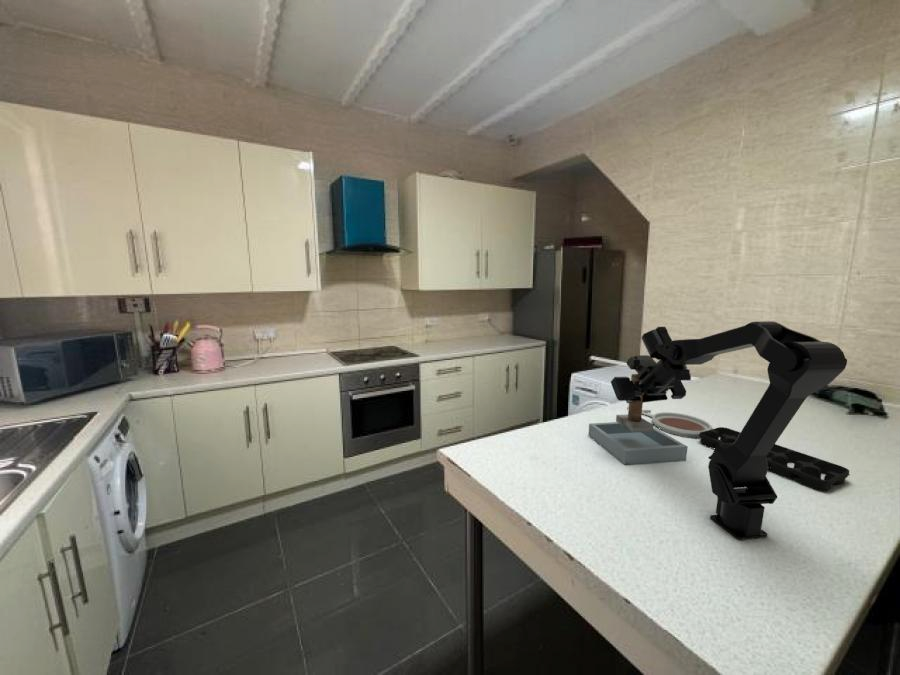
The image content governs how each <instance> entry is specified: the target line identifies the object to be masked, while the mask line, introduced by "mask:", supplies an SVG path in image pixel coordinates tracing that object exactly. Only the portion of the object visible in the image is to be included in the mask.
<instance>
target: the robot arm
mask: <svg viewBox="0 0 900 675" xmlns="http://www.w3.org/2000/svg"><path fill="white" fill-rule="evenodd" d="M641 341H642V342H643V345H644V346H645V349H646V351H647V353H648V354H649V355H646V354H645V355H642V354H641V355H639V354H638V355H633V356H630V357H629V358H628V359H627V362H626V366H627V367H628V368H629V369H630V370H634V371H635V372H636V374H637V375H636V377H637V379H639V380H640V381H634V382H633V381H631V377H628V376H614V377H613V378H612V380H610V383H611V387H612V389H613V392H614V394H615V398H616V399H617V401H620V402H621V401H622V402H623V401H625V402H626V404H629V403H633V402H637V401H641V398H640V396H641V395H642V394H643V393H644V394H643V403H650V402H660V401H667V400H668V395H667V393H668V391H669V390H670V392H671V395H670V398H671V399H672V400H682V399H683V398H685V397H686V396H687V389H686V388H685V386H684V384H683V382H682V381H691V380H692V375H691V371H690V369H688V366H689V365H691V366H693V365H697V366H698V365H704V364H705V363H708V362H710V361H712V360H713V359H714V358H715V357H717V356H719V355H723V354H728V353H731V352H735V351H739V350H744V349H750V348H753V347H754V348H755V350H756V352H757V353H758V356H759V357H761V358H762V359H764V360H765V361H767V362H768V365H767V370H766V371H767V375H768V380H769V384H768V386H767V388H766V390H765V392H764V393H763V395H762V397H761V398H760V400H759V402H758V403H757V405H756V406H755V408H754V410H753V411H752V413H751V414H750V416H749V418H748V419H747V421H746V423H745V425H744V426H743V428H742V430H741V431H740V432H741V433H740V434H739V436H738V438H737V439H736V441H735V442H734V443H725V444H717V446H716V447H715V449H713V452H712V453H711V455H709V456H708V460H709V462H708V465H707V467H708V473H709V474H708V476H709V481H710V487H711V491H712V492H711V493H713V495H715V496H716V497H717V499H716V500H717V502H716V509H715V513H716V514H710V516H709V519H711V520H712V522H715V523H716V525H718V526H719V527H721V528H722V529H724V530H725V531H726V532H727V533H729V534H730V535H732V536H733V537H734V538H736V539H737V540H740V541H741V540H749V539H757V538H766V537H768V532H766V531H765V530H763V529H762V526H763V521H764V514H765V506H764V505H767V504H768V505H772V504H774V503H775V501H776V500H777V499H778V495H777V493H776V491H775V489H774V488H773V486H772V484H771V482H770V480H769V479H768V477H767V474H768V472H769V467H768V463H767V459H766V456H767V455H768V453H769V452H770V450H771V449H772V447H773V446H774V444H776V443H777V442H778V440H779V439H780V437H781V436H782V434H783V432H784V431H785V430H786V428H787V426H789V424H790V422H791V421H792V420H793V418H794V417H795V415H796V414H797V412H798V410H799V409H800V407H802V405H803V403H804V402H805V400H807V398H809V396H811V395H812V394H814V393H816V392H818V391H819V390H821V389H823V388H825V387H827V386H828V385H830V384H831V383H832V382H833V381H834V380H835V379H836V378H837V377H839V376H840V375H841V373H842V372H844V370H845V369H846V367H847V365H848V359H847V358H846V356H845V352H844V351H843V350H842V349H841V348H840V347H839V346H838V345H837V344H835V343H832V342H830V341H821V340H820V339H817V338H816V337H815V336H814V337H813V336H811V335H807V334H805V333H802V332H800V331H797V330H793V329H791V328H788V327H786V326H785V325H783V324H781V323H779V322H776V321H751V322H749V323H747V324H745V325H743V326H738V327H735V328H732V329H728V330H726V331H721V332H718V333H715V334H712V335H711V334H710V335H709V336H706V337H705V336H704V337H701V338H688V339H687V338H686V339H674V340H672V337H671V336H670V334H669V332H668V329H667V327H666V326H657V327H656V328H655V329H651V330H649V331H647V332H645V333H643V334H642V336H641ZM654 359H656V360H658V361H655V360H654Z"/></svg>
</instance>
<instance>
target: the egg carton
mask: <svg viewBox="0 0 900 675" xmlns="http://www.w3.org/2000/svg"><path fill="white" fill-rule="evenodd" d="M740 433H741V431H738V430H734V429H732V428H729V427H728V428H727V427H721V426H720V427H716V428H713V429H711V430H708V431H704V432H700V434H699V437H700V438H699V439H700V443H701V444H702V445H703V446H705V445H706V447H707V446H708V448H709V447H711V448H710V449H713V448H715V447H716V446H717V444H725V443H734V442H735V441H736V439H737V438H738V436H739V434H740ZM766 459H767V463H768V468H769V472H771V473H772V474H775V475H777V476H779V477H781V478H782V477H783V478H785V479H789V480H798V483H799V484H800V485H802V486H805V487H807V488H810V489H811V490H815V491H819V492H823V493H825V492H826V493H827V492H828V491H830V490H831V488H832V486H842V485H845V481H846V479H847V478H848V477H849V476H850V470H849V469H848V468H847V467H845V466H842V465H840V464H835V463H833V462H829V461H827V460H824V459H820V458H818V457H814V456H812V455H810V454H805V453H803V452H800V451H797V450H794V449H791V448H789V447H784V446H782V445H779V444H776V443H775V444H774V446H773V447H772V449H771V450H770V452H769V453H768V455H767V456H766ZM788 464H793V467H790V466H788ZM822 475H824V478H823V479H822Z"/></svg>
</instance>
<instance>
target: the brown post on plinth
mask: <svg viewBox="0 0 900 675" xmlns="http://www.w3.org/2000/svg"><path fill="white" fill-rule="evenodd" d="M637 374H638V373H632V374H631V377H630V381H633V382H634V381H640V380H639V379H637V377H636V375H637ZM643 394H644V393H643ZM643 394H642V395H641V396H640V398H641V401H637V402H633V403H628V406H629V410H628V409H627V412H628V413H627V414H616V415H615V416H616V418H615V422H618V423H619V424H621V425H622V426H624V427H625V428H627V429H628V430H630V431H631V432H653V427H654V423H652V422H650V421H648V420H646V419H644V418H643V417H642V415H643V414H642V410H643V405H644V404H643Z"/></svg>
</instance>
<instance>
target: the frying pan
mask: <svg viewBox="0 0 900 675" xmlns="http://www.w3.org/2000/svg"><path fill="white" fill-rule="evenodd" d="M628 409H629V405H628V406H627V410H628ZM651 412H652V410H651V409H642V415H645V416H647V417H650V418H651V420H652V424H653V425H654V424H655V425H654V427H656V426H657V427H658V428H657V427H656V428H657V429H659V428H660V429H662V430H661V431H663V430H664V431H663V432H665V431H666V432H665V433H667V432H669V433H668V434H671V433H672V435H674V434H675V436H678V435H680V436H679V437H683V436H685V437H684V438H690V437H692V438H693V437H694V438H693V439H696V437H697V439H700V438H699V434H700V432H704V431H708V430H711V429H714V428H713V426H712V425H711V424H710V423H709V422H708V421H706V420H704V419H701V418H699V417H696V416H693V415H688V414H684V413H680V412H670V411H669V412H667V411H665V412H664V411H662V412H655V414H651ZM660 429H659V430H660Z"/></svg>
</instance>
